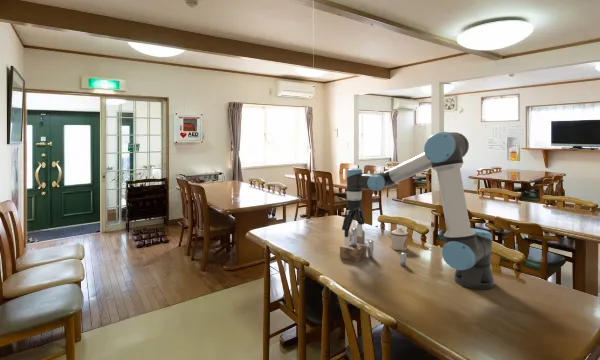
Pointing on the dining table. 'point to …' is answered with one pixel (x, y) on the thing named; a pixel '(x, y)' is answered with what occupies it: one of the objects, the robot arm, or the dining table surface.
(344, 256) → the hole block
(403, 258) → the pin short
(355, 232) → the pin long
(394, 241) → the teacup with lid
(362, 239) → the food item
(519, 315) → the dining table surface
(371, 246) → the pin medium
